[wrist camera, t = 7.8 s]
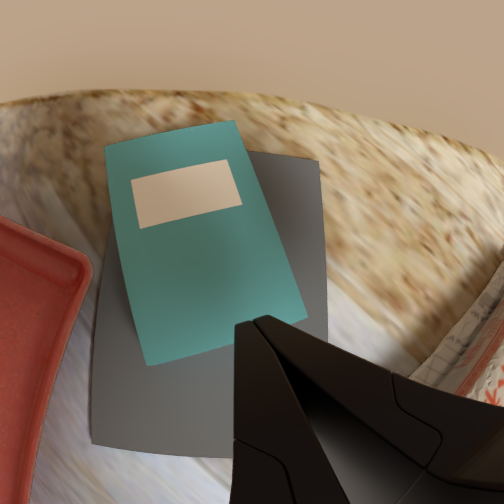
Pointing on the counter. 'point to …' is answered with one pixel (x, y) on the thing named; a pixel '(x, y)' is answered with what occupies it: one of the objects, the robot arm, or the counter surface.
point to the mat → (206, 363)
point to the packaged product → (472, 350)
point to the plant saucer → (32, 342)
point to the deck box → (195, 240)
